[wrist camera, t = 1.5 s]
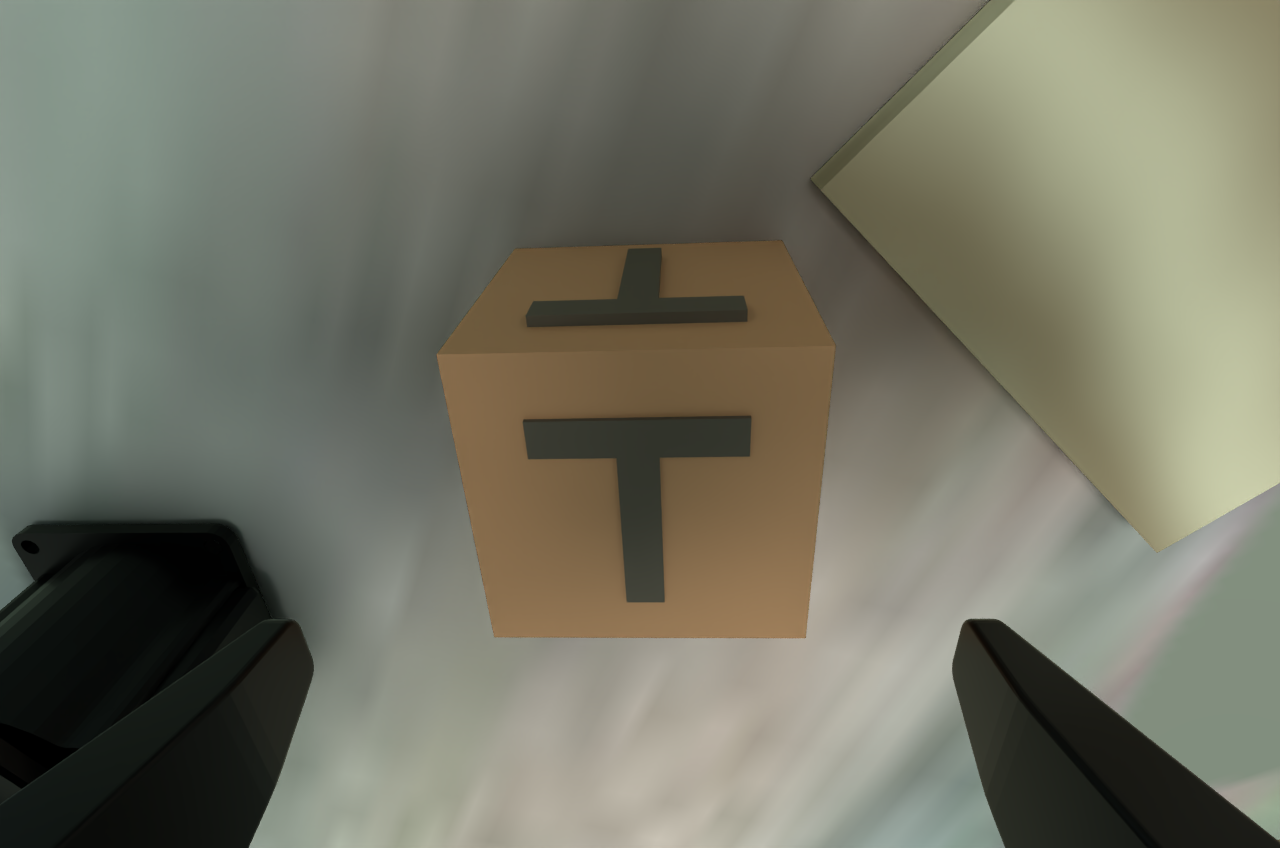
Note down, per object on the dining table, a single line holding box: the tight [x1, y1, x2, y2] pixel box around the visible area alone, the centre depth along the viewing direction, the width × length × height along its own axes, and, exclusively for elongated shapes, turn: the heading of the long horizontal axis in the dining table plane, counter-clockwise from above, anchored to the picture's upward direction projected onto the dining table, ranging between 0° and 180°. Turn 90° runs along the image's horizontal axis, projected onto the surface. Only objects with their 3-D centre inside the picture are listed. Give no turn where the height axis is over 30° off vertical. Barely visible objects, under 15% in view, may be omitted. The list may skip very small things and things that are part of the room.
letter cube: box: [437, 240, 836, 638], centre depth 14 cm, size 6×6×6 cm
